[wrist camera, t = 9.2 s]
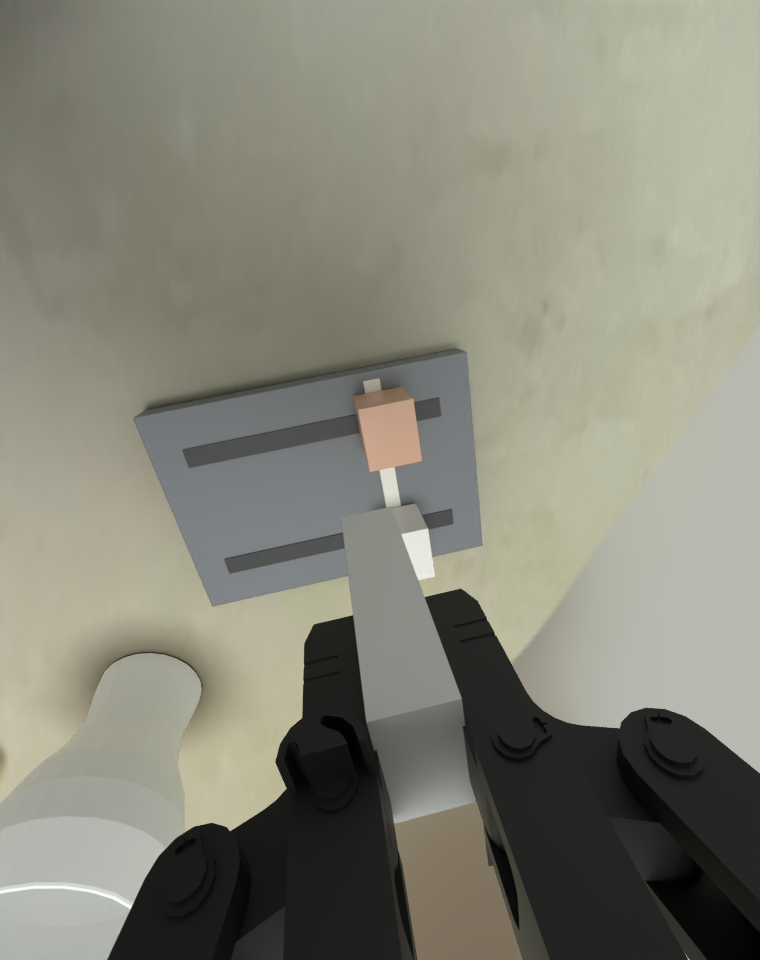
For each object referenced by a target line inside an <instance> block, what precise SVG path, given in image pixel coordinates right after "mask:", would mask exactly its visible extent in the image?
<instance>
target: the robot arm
mask: <svg viewBox="0 0 760 960" xmlns="http://www.w3.org/2000/svg"><path fill="white" fill-rule="evenodd" d="M341 520H342V528H343V536H344V544H345V552H346V561H347V569H348V577H349V585H350V593H351V601H352V609H353V616H348V617H344V618H340V619H336V620H331V621H327V622H323V623H318V624H314V625H313V627H312V629H311V631H310V633H309V635H308V637H307V639H306V641H305V645H304V666H305V667H304V684H303V716H302V719H301V720H299V721H298V722H297V723H296V724H295V725H294V726H292V727H291V728H290V730H289V731H288V733H287V734H286V736H285V737H284V739H283V740H282V742H281V744H280V747H279V750H278V754H277V758H276V765H277V767H278V769H279V772H280V774H281V776H282V779H283V781H284V783H285V786H286V788H287V789H286V790H285V791H284V792H283V793H282V795H281V796H280V797H279V798H278V799H277V800H276V801H275V802H274V803H272V804H271V805H270V806H268V807H267V808H266V809H265V810H263V811H262V812H260V813H258V814H257V815H255V816H254V817H252V818H251V819H249V820H247V821H246V822H244V823H243V824H241V825H240V826H238V827H236V828H235V829H233V830H232V831H229V830H228V828H227V827H224V826H221V825H217V824H214V823H209V824H205V825H200V826H195V827H193V828H191V829H190V830H188V831H187V832H185V833H183V834H182V835H180V836H178V837H177V838H175V840H174V841H173V842H172V843H171V844H170V845H169V846H168V847H167V848H166V849H165V850H164V851H163V852H162V853H161V854H160V855H159V856H158V858H157V859H156V861H155V863H154V864H153V866H152V868H151V869H150V871H149V873H148V874H147V876H146V878H145V879H144V881H143V883H142V886H141V888H140V890H139V892H138V894H137V896H136V899H135V901H134V903H133V905H132V907H131V909H130V912H129V914H128V916H127V918H126V920H125V922H124V924H123V927H122V929H121V931H120V933H119V935H118V937H117V940H116V942H115V944H114V946H113V948H112V950H111V952H110V955H109V957H108V959H107V960H417V955H416V949H415V943H414V936H413V930H412V924H411V917H410V911H409V904H408V898H407V892H406V885H405V879H404V873H403V866H402V863H401V859H400V856H399V852H398V848H397V841H396V834H395V828H394V824H395V823H398V822H402V821H406V820H410V819H414V818H418V817H421V816H425V815H429V814H432V813H436V812H440V811H443V810H447V809H451V808H455V807H459V806H463V805H466V804H470V803H474V802H475V798H476V801H477V804H478V807H479V810H480V814H481V817H482V820H483V824H484V833H485V841H486V850H487V857H488V864H489V866H492V865H493V866H494V869H495V872H496V875H497V879H498V882H499V885H500V888H501V892H502V895H503V898H504V901H505V904H506V907H507V911H508V914H509V917H510V920H511V924H512V927H513V930H514V933H515V936H516V939H517V943H518V946H519V949H520V952H521V956H522V959H523V960H688V959H687V957H688V958H689V959H690V960H760V773H758V772H757V771H756V770H755V769H753V768H752V767H751V766H750V765H748V764H747V763H746V762H745V761H744V760H742V759H741V758H740V757H739V756H737V755H736V754H735V753H734V752H733V751H731V750H730V749H729V748H728V747H727V746H725V745H724V744H723V743H722V742H720V741H719V740H718V739H717V738H715V737H714V736H713V735H712V734H711V733H709V732H708V731H707V730H706V729H704V728H703V727H701V726H700V725H698V724H696V723H695V722H693V721H692V720H690V719H689V718H687V717H685V716H683V715H680V714H677V713H674V712H671V711H669V710H666V709H655V708H644V709H641V710H638V711H634V712H631V713H630V714H629V715H628V716H627V717H626V718H625V719H624V720H623V721H622V722H621V726H620V729H619V728H606V727H593V726H592V727H591V726H581V725H576V724H570V723H566V722H564V721H561V720H559V719H556V718H554V717H552V716H551V715H549V714H548V713H546V712H544V711H543V710H541V708H539V707H538V706H537V705H536V704H535V703H534V702H533V701H532V699H531V698H530V696H529V695H528V694H527V692H526V690H525V689H524V687H523V685H522V683H521V681H520V679H519V677H518V675H517V674H516V672H515V670H514V668H513V666H512V664H511V662H510V661H509V659H508V657H507V655H506V653H505V651H504V649H503V648H502V646H501V644H500V642H499V640H498V638H497V636H495V634H494V631H493V629H492V627H491V625H490V623H489V622H488V621H487V618H486V616H485V614H484V612H483V610H482V609H481V607H480V605H479V603H478V601H477V600H475V599H474V598H473V597H471V596H470V595H469V594H468V593H466V592H465V591H464V590H462V589H458V590H453V591H449V592H445V593H441V594H436V595H432V596H428V597H424V595H423V592H422V589H421V586H420V584H419V581H418V578H417V576H416V573H415V570H414V567H413V565H412V562H411V559H410V557H409V554H408V551H407V548H406V546H405V543H404V540H403V538H402V535H401V532H400V529H399V527H398V524H397V521H396V518H395V516H394V513H393V510H392V508H391V507H387V508H383V509H378V510H374V511H369V512H365V513H360V514H355V515H351V516H346V517H342V518H341ZM474 795H475V798H474ZM685 954H686V955H687V957H686V955H685Z"/></svg>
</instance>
